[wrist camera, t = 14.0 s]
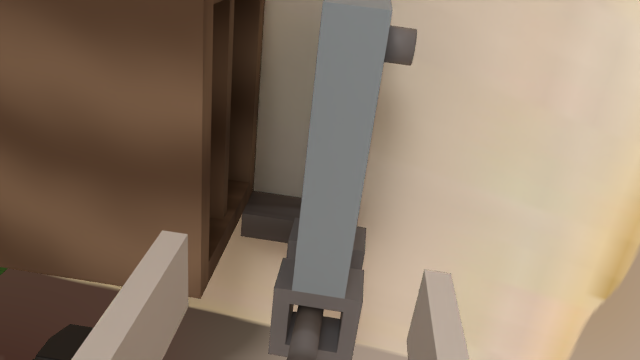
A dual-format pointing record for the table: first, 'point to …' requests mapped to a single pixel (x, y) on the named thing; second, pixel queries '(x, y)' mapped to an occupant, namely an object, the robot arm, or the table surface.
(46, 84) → the cabinet
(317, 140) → the door
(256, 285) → the table surface
